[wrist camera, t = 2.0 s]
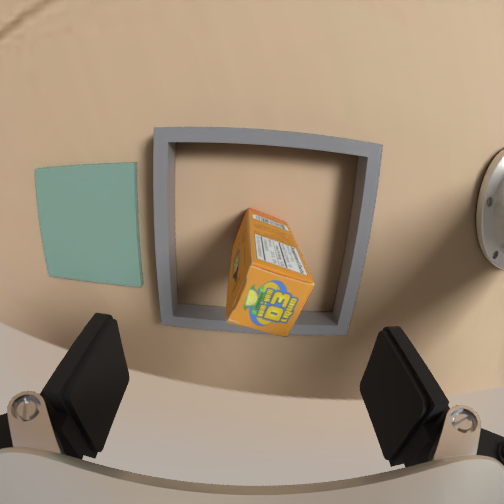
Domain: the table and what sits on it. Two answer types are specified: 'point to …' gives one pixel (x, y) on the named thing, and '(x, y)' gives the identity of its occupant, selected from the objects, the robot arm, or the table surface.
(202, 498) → the robot arm
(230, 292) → the supplement box
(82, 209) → the mat
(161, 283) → the gray square frame
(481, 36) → the table surface
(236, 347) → the table surface
